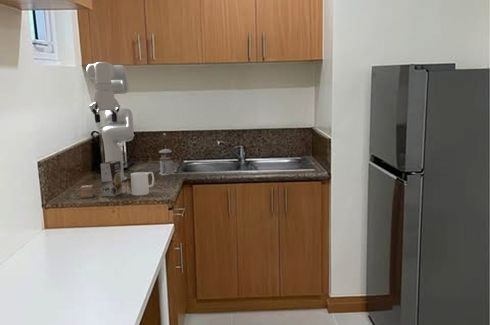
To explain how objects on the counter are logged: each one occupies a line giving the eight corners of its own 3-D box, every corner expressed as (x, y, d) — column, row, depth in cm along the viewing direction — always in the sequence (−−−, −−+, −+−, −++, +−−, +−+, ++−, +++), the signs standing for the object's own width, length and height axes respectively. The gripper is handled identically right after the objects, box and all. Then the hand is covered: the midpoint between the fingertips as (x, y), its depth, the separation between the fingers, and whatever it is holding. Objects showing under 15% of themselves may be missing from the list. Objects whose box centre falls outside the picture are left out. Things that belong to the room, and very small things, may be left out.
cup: (158, 192, 233) (157, 172, 231) (136, 196, 225) (135, 175, 224) (151, 190, 239) (149, 170, 237) (129, 193, 231) (127, 173, 230)
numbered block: (83, 195, 231) (82, 185, 230) (93, 195, 231) (92, 184, 231) (81, 197, 226) (80, 187, 225) (92, 197, 227) (91, 186, 226)
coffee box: (114, 196, 225) (112, 163, 223) (102, 196, 227) (99, 163, 224) (123, 192, 234) (120, 160, 232) (111, 192, 236) (108, 160, 233)
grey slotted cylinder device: (177, 172, 292) (174, 132, 289) (170, 175, 281) (168, 133, 277) (161, 172, 294) (159, 132, 290) (155, 175, 283) (152, 134, 279)
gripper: (114, 88, 243) (116, 121, 244) (84, 87, 229) (86, 123, 231) (122, 87, 238) (125, 121, 240) (92, 86, 225) (95, 122, 226)
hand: (106, 122), depth 235 cm, fingers open, 9 cm apart
